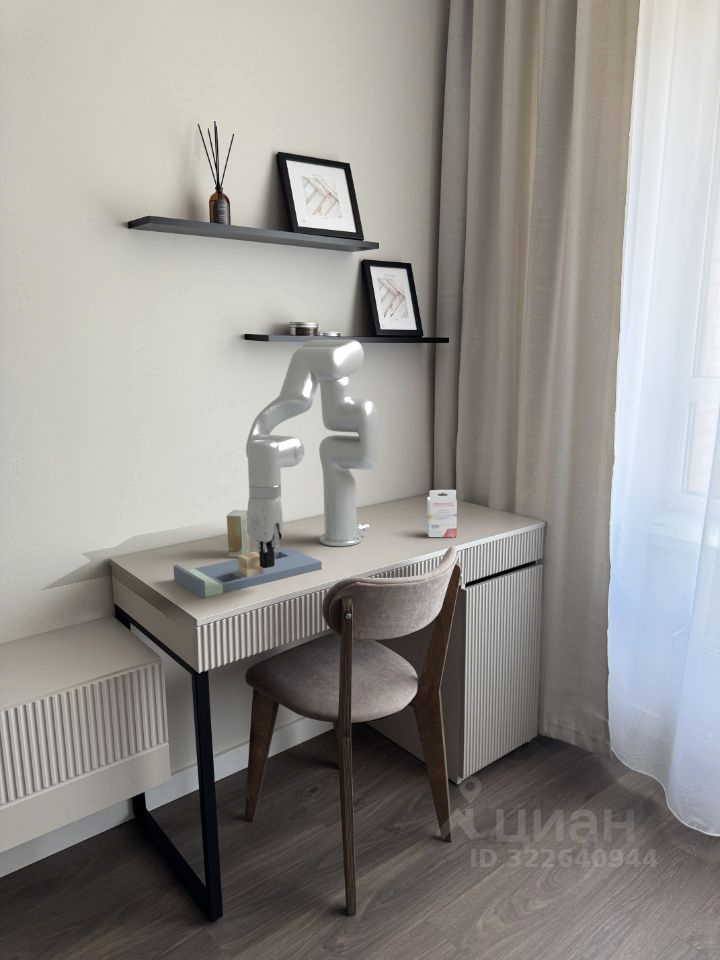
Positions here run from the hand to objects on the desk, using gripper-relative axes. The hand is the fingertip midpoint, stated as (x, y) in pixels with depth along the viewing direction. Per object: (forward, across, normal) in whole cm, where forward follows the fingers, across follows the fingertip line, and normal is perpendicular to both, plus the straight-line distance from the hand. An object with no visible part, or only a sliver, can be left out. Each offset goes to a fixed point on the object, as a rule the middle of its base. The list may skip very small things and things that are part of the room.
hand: (267, 566), depth 172 cm
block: (+4, -8, 0) cm, 9 cm away
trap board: (+6, -12, +2) cm, 13 cm away
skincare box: (+5, -29, +8) cm, 31 cm away
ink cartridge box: (+5, -7, +64) cm, 65 cm away
